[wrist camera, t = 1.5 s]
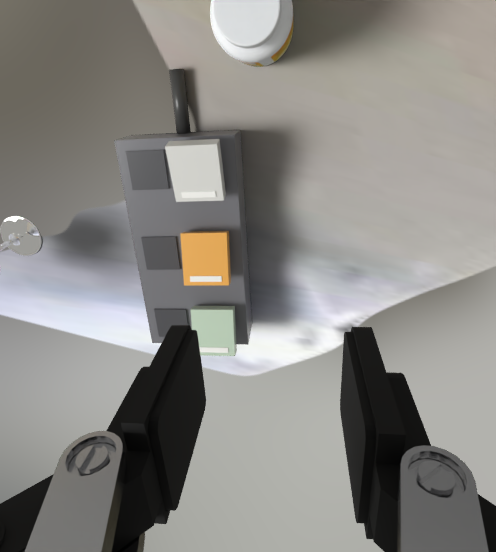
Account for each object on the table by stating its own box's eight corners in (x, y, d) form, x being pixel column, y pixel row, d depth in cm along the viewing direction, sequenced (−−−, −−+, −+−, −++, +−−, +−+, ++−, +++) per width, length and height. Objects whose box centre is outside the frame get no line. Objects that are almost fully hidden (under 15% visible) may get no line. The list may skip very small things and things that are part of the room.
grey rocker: (219, 138, 30) (216, 144, 29) (225, 193, 33) (223, 200, 32) (168, 141, 31) (164, 146, 30) (179, 195, 34) (175, 202, 33)
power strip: (236, 65, 33) (228, 62, 29) (252, 323, 43) (247, 346, 40) (121, 73, 34) (99, 71, 30) (163, 322, 45) (151, 344, 41)
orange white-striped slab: (228, 230, 35) (226, 232, 33) (230, 282, 36) (228, 285, 34) (184, 231, 35) (180, 233, 34) (187, 282, 36) (183, 285, 35)
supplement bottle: (282, -24, 30) (278, -70, 21) (301, 53, 32) (303, 40, 23) (216, 4, 31) (186, -29, 22) (238, 76, 33) (218, 72, 24)
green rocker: (234, 305, 38) (232, 310, 36) (236, 350, 39) (234, 356, 38) (193, 305, 38) (190, 309, 37) (196, 350, 39) (193, 355, 38)
